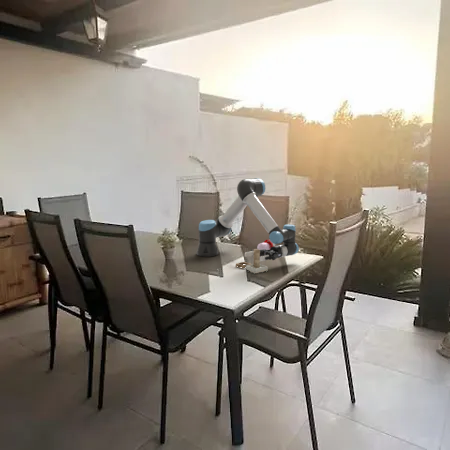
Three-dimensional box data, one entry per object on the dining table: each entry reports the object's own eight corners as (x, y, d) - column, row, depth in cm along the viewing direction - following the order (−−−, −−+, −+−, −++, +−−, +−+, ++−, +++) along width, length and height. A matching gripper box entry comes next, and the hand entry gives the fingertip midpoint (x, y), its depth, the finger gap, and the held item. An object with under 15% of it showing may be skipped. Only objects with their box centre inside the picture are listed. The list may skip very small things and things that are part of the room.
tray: (245, 270, 232) (245, 265, 231) (257, 268, 237) (257, 263, 237) (256, 273, 225) (256, 268, 224) (267, 271, 230) (267, 266, 230)
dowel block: (235, 266, 240) (235, 263, 240) (244, 264, 245) (244, 261, 244) (243, 269, 235) (243, 265, 235) (251, 267, 239) (251, 263, 239)
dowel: (252, 269, 231) (252, 249, 229) (256, 268, 233) (256, 248, 231) (256, 270, 228) (256, 250, 226) (260, 269, 230) (261, 249, 229)
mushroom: (265, 255, 262) (280, 253, 268) (262, 239, 263) (277, 237, 269) (257, 257, 271) (271, 255, 277) (254, 241, 273) (268, 239, 278)
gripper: (293, 261, 231) (267, 267, 218) (264, 253, 250) (238, 259, 237) (293, 249, 230) (267, 254, 217) (264, 242, 249) (238, 247, 236)
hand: (252, 256), depth 227 cm, fingers open, 12 cm apart
